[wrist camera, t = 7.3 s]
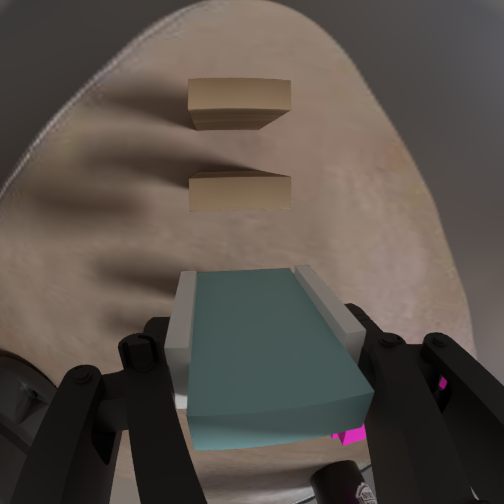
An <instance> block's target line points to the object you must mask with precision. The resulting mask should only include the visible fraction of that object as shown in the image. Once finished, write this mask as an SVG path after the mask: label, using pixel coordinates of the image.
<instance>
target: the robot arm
mask: <svg viewBox="0 0 504 504" xmlns="http://www.w3.org/2000/svg"><path fill="white" fill-rule="evenodd" d="M294 276H295V278H296V279H297V281H298V282H299V283H300V285H301V286H302V288H303V289H304V291H305V292H306V293H307V295H308V296H309V298H310V299H311V301H312V302H313V304H314V305H315V306H316V308H317V309H318V311H319V312H320V314H321V315H322V317H323V318H324V320H325V321H326V322H327V324H328V325H329V327H330V328H331V330H332V331H333V333H334V334H335V336H336V337H337V339H338V340H339V342H340V343H341V344H342V346H343V347H344V348H345V349H346V350H347V352H348V353H349V354H350V356H351V357H352V359H353V360H354V362H355V363H356V365H357V366H358V368H359V369H360V371H361V372H362V374H363V375H364V377H365V378H366V380H367V381H368V383H369V384H370V386H371V387H372V389H373V390H374V395H373V398H372V401H371V404H370V407H369V410H368V412H367V415H366V418H365V421H364V427H365V432H366V437H367V442H368V448H369V453H370V459H371V465H372V471H373V477H374V483H375V490H376V497H377V504H504V386H503V385H502V384H501V383H500V382H499V381H498V380H497V379H496V378H495V377H494V376H493V375H492V374H491V373H489V372H488V371H487V370H486V369H485V368H484V367H483V366H482V365H481V364H480V363H478V361H476V360H475V359H474V358H473V357H472V356H471V355H470V354H469V353H468V352H466V351H465V350H464V349H463V348H462V347H461V346H460V345H459V344H457V343H456V342H455V341H454V340H453V339H452V338H450V337H449V336H447V335H445V334H443V333H438V332H435V333H429V334H427V335H426V336H425V337H424V340H423V343H422V344H406V342H405V340H404V339H403V338H402V337H400V336H398V335H396V334H393V333H387V332H383V331H382V330H381V329H380V328H379V327H378V326H377V325H376V324H375V323H374V322H373V321H372V320H370V317H369V316H368V315H366V313H365V312H364V311H363V310H362V309H361V308H360V307H358V306H356V305H354V304H352V303H349V304H343V303H342V302H341V300H340V299H339V298H338V297H337V296H336V295H335V294H334V292H333V291H332V290H331V289H330V288H329V287H328V286H327V285H326V283H325V282H324V281H323V280H322V279H321V278H320V277H319V276H318V274H317V273H316V272H315V271H314V270H313V269H312V268H311V267H310V266H309V265H298V266H295V274H294ZM196 289H197V271H181V275H180V279H179V283H178V287H177V291H176V296H175V300H174V304H173V309H172V313H171V317H153V318H152V319H150V320H149V321H148V322H147V323H146V325H145V328H144V332H143V333H136V334H132V335H129V336H127V337H125V338H123V339H122V340H121V341H120V342H119V344H118V350H119V354H120V357H121V361H122V364H123V368H124V370H121V371H119V372H115V373H110V374H104V375H101V372H100V370H99V369H98V368H97V367H95V366H92V365H79V366H76V367H74V368H72V369H70V370H69V371H68V372H67V373H66V374H65V376H64V378H63V380H62V382H61V384H60V386H59V387H58V389H56V388H55V387H54V386H53V385H52V384H51V383H50V382H49V381H48V380H47V379H45V378H44V377H43V376H42V375H41V374H39V373H38V372H36V371H35V370H34V369H32V368H31V367H29V366H27V365H26V364H24V363H22V362H20V361H18V360H15V359H12V358H9V357H5V356H0V504H109V502H110V495H111V489H112V483H113V477H114V472H115V466H116V461H117V455H118V450H119V445H120V441H121V436H122V431H123V430H128V429H129V437H130V445H131V452H132V459H133V465H134V471H135V477H136V482H137V487H138V492H139V497H140V502H141V504H207V501H206V499H205V496H204V493H203V491H202V488H201V486H200V483H199V480H198V477H197V475H196V472H195V469H194V466H193V463H192V460H191V457H190V455H189V452H188V448H187V445H186V442H185V439H184V436H183V433H182V429H181V426H180V423H179V419H178V416H177V412H176V409H175V402H176V406H177V409H187V394H188V377H189V362H191V351H192V337H193V324H194V311H195V300H196ZM442 378H444V379H445V380H446V381H447V384H446V386H445V388H444V389H442V388H441V387H440V386H439V385H440V382H441V380H442ZM470 486H471V487H472V489H473V491H474V492H475V494H476V495H477V497H478V498H479V500H477V499H476V498H474V495H473V493H472V490H471V487H470Z"/></svg>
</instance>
